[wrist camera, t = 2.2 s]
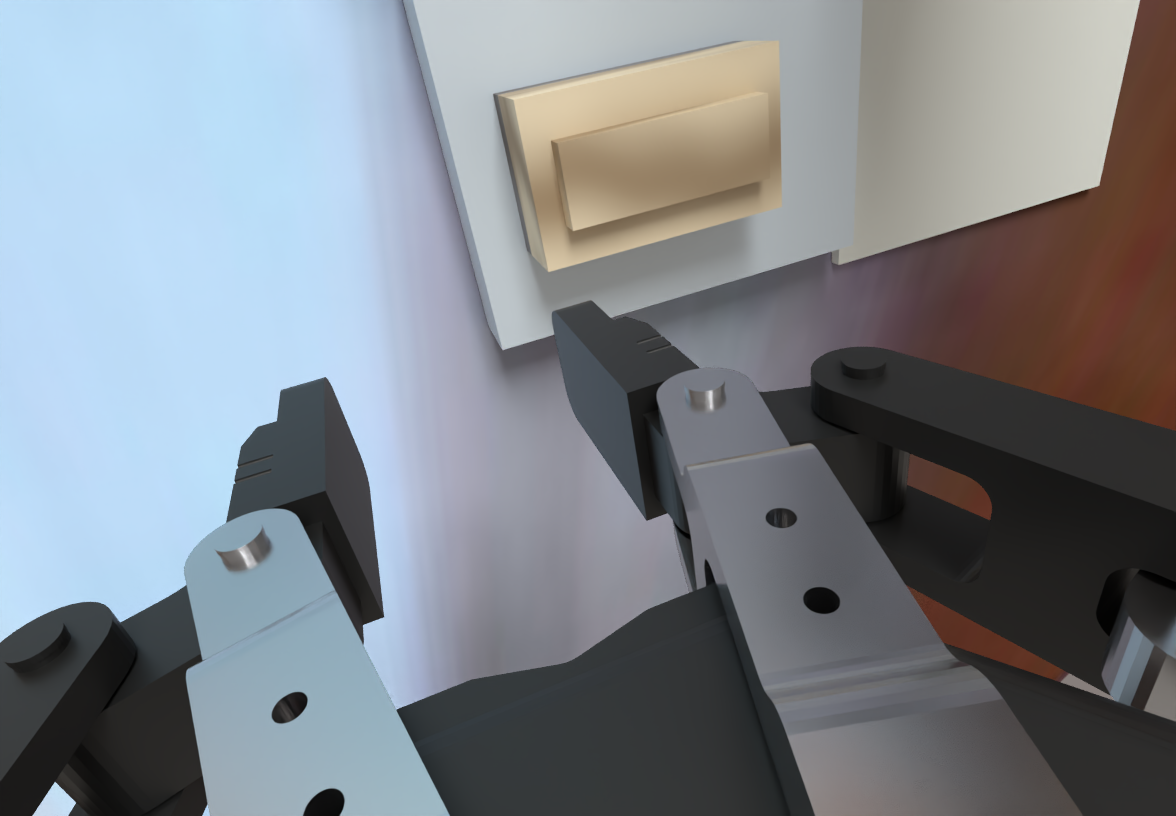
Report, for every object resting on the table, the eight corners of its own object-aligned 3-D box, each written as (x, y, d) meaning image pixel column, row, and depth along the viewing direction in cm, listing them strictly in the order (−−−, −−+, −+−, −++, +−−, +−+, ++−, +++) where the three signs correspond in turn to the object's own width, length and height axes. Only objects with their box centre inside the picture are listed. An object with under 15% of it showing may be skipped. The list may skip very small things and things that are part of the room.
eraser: (492, 94, 25) (519, 101, 22) (734, 40, 27) (792, 40, 24) (526, 250, 28) (554, 278, 25) (741, 192, 30) (793, 211, 27)
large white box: (393, -33, 25) (402, -42, 22) (819, -108, 29) (867, -122, 26) (488, 326, 32) (502, 350, 30) (816, 230, 36) (853, 245, 33)
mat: (840, -156, 28) (850, -160, 27) (1172, -209, 32) (1186, -213, 31) (831, 262, 37) (838, 265, 37) (1089, 183, 41) (1098, 185, 40)
